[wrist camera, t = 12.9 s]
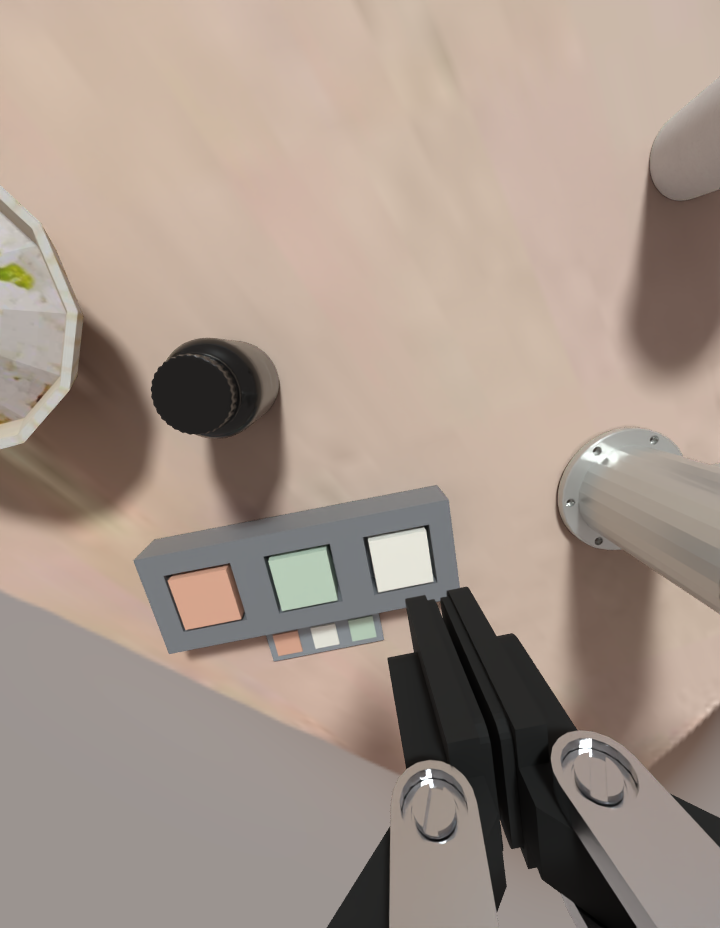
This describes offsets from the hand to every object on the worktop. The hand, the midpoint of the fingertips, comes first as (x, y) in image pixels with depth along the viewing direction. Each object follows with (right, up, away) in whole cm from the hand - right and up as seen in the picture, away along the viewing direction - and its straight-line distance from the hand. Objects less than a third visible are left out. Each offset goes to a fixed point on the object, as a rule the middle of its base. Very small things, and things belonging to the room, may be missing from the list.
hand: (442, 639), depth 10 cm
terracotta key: (-16, -7, +28) cm, 33 cm away
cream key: (+1, -3, +28) cm, 28 cm away
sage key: (-7, -5, +28) cm, 29 cm away
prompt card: (-6, -13, +31) cm, 35 cm away
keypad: (-8, -5, +29) cm, 30 cm away
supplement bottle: (-13, +12, +24) cm, 30 cm away
